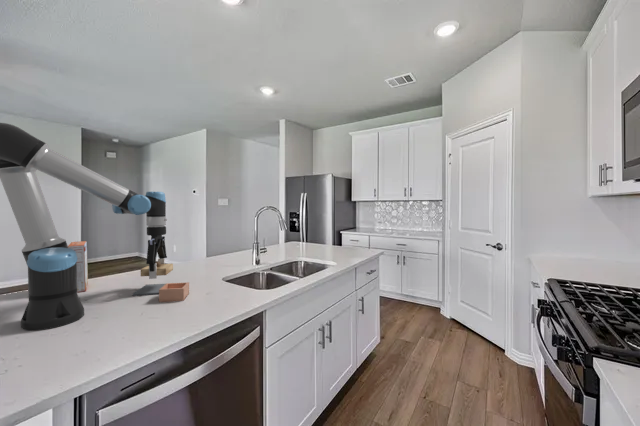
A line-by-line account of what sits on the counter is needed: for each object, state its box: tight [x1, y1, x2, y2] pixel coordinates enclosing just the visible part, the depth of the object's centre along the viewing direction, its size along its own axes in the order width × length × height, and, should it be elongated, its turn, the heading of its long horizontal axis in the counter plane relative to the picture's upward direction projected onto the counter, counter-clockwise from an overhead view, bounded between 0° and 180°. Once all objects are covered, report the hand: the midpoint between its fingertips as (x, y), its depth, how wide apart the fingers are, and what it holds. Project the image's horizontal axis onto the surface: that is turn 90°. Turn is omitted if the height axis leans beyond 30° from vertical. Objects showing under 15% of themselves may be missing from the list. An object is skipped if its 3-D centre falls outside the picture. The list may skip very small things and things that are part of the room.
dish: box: [158, 281, 190, 303], centre depth 116 cm, size 9×9×5 cm
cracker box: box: [67, 240, 89, 293], centre depth 126 cm, size 14×6×21 cm, turn 37°
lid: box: [140, 261, 174, 277], centre depth 126 cm, size 10×10×5 cm
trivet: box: [132, 283, 166, 297], centre depth 126 cm, size 14×14×1 cm
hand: (157, 275), depth 126 cm, fingers closed on lid, 10 cm apart
